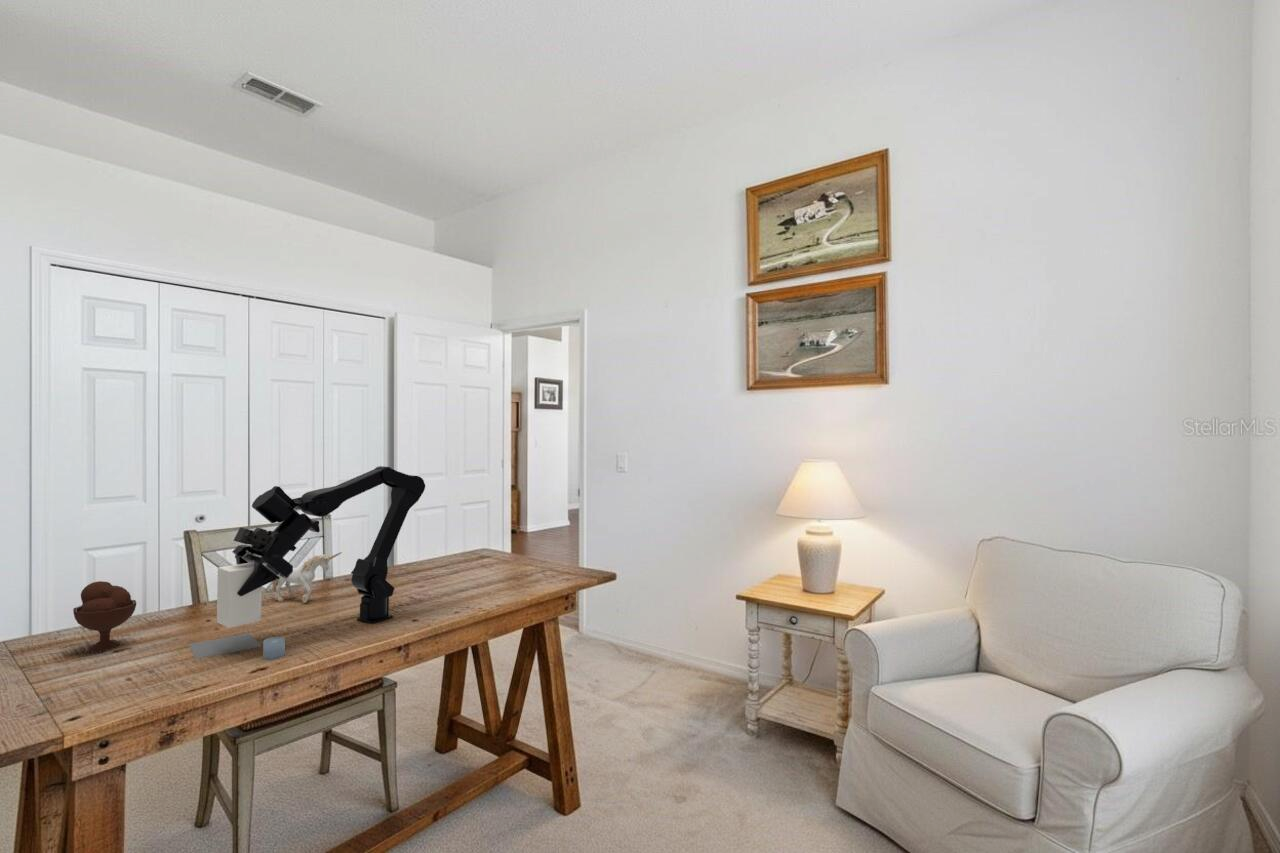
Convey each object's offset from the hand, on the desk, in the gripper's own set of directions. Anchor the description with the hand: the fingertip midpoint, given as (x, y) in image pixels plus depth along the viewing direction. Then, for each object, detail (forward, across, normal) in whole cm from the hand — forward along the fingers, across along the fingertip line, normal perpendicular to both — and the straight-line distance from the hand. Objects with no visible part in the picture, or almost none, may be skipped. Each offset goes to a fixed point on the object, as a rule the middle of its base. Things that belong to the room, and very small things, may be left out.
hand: (232, 592), depth 137 cm
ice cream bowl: (+21, -25, -2) cm, 33 cm away
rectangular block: (+4, 0, +6) cm, 7 cm away
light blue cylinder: (+6, +10, +13) cm, 17 cm away
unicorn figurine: (-12, -33, +32) cm, 48 cm away
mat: (+9, -6, +10) cm, 15 cm away
